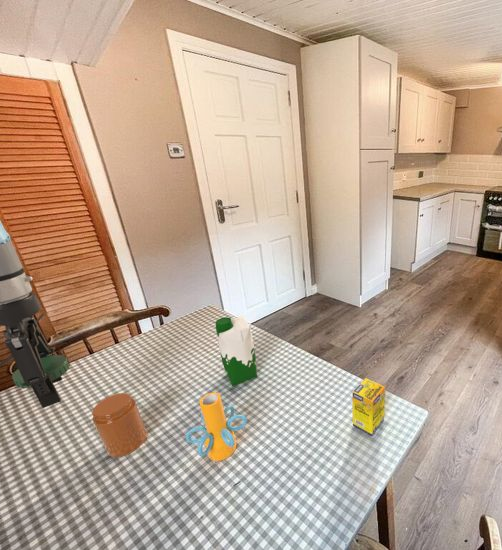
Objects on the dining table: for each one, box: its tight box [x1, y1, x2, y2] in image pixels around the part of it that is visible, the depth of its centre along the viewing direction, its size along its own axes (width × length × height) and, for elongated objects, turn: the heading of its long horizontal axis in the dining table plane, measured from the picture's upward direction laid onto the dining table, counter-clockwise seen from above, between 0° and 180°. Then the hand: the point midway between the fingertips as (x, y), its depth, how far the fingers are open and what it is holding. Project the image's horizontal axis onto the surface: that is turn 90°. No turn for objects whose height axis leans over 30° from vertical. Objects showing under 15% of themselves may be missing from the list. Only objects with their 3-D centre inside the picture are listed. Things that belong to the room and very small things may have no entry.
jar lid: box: [11, 354, 71, 389], centre depth 63 cm, size 8×8×2 cm
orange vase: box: [185, 392, 248, 462], centre depth 67 cm, size 12×10×15 cm
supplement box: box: [351, 378, 386, 437], centre depth 74 cm, size 6×6×11 cm
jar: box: [91, 392, 148, 458], centre depth 69 cm, size 8×8×12 cm
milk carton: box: [214, 315, 258, 387], centre depth 89 cm, size 9×9×20 cm
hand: (52, 392), depth 66 cm, fingers closed on jar lid, 8 cm apart
